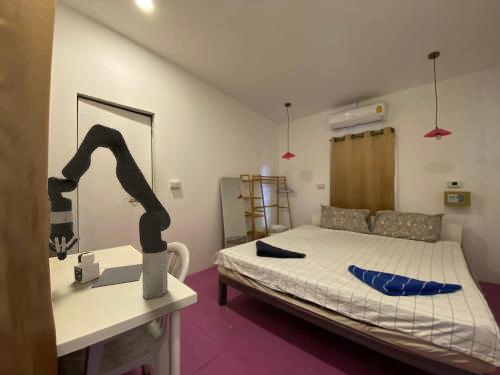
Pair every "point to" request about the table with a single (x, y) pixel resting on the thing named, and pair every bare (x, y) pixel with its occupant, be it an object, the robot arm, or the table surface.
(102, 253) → the table surface
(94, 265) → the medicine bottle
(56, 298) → the table surface
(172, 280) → the table surface
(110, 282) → the mat
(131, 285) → the table surface
